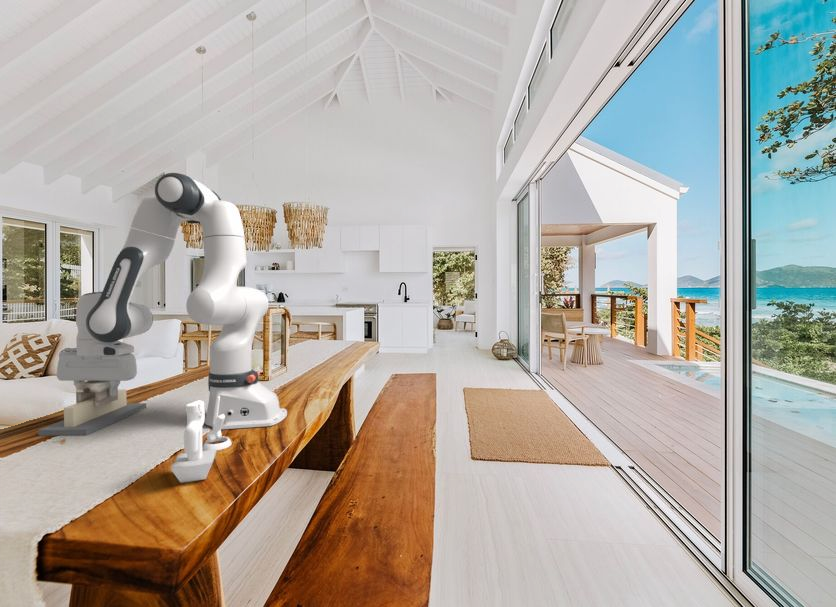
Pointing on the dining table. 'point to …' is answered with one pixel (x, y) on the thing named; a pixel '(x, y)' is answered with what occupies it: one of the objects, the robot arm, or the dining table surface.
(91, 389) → the cabinet block
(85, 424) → the cleat board
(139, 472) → the dining table surface
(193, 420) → the figurine
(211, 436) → the hook
